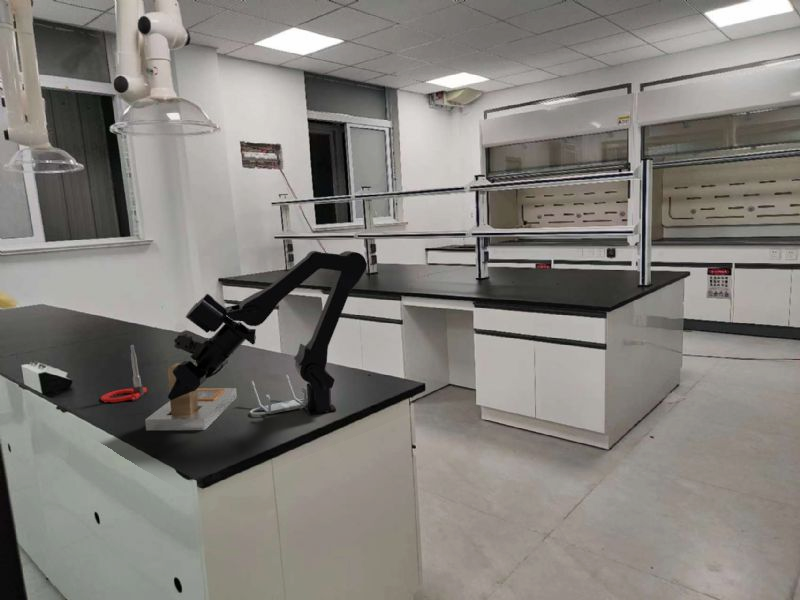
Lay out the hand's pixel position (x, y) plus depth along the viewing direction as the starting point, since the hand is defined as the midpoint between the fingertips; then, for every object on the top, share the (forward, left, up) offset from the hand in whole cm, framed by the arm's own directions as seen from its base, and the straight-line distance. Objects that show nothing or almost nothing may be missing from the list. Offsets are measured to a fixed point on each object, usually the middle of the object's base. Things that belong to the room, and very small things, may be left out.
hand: (178, 392), depth 125 cm
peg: (0, -1, -7) cm, 7 cm away
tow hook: (+26, +13, -7) cm, 30 cm away
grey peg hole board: (+5, -3, -7) cm, 9 cm away
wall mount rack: (0, -22, -7) cm, 24 cm away
